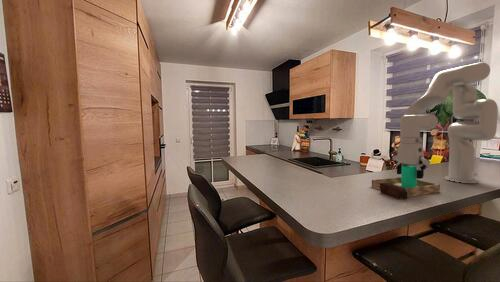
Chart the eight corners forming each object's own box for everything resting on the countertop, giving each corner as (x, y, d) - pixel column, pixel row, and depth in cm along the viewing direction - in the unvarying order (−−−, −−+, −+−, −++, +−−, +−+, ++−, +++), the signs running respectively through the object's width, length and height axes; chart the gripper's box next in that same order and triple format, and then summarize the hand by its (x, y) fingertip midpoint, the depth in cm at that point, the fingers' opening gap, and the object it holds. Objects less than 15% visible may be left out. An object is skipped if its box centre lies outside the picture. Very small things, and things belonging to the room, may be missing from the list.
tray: (403, 182, 112) (403, 176, 111) (439, 191, 95) (439, 184, 95) (371, 186, 106) (371, 180, 106) (404, 197, 90) (404, 189, 90)
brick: (379, 192, 97) (379, 182, 97) (386, 191, 98) (386, 182, 98) (399, 200, 87) (400, 189, 87) (407, 199, 88) (408, 188, 87)
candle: (419, 188, 99) (420, 163, 98) (407, 189, 99) (407, 164, 98) (410, 185, 105) (410, 161, 104) (398, 185, 105) (398, 161, 104)
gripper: (435, 141, 93) (434, 179, 94) (398, 139, 109) (398, 171, 111) (423, 142, 91) (422, 181, 92) (387, 140, 107) (387, 173, 109)
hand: (409, 176), depth 101 cm, fingers open, 9 cm apart
